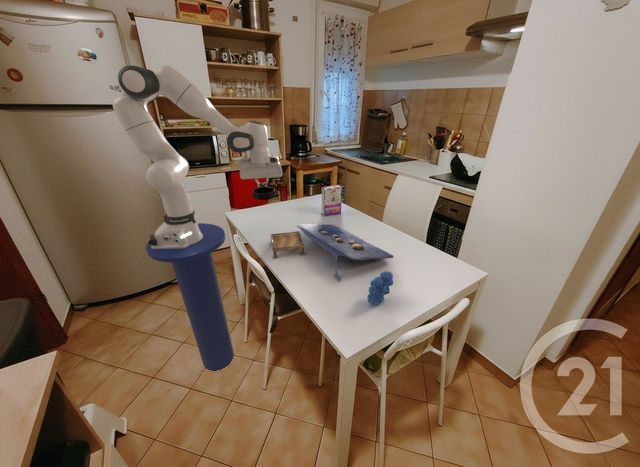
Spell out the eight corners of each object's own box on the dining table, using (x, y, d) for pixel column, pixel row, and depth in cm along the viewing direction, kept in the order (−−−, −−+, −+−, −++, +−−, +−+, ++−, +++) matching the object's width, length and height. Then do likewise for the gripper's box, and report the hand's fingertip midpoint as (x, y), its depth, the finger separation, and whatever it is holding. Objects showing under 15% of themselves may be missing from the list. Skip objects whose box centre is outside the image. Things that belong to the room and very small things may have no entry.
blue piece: (288, 242, 131) (291, 220, 128) (330, 241, 148) (334, 222, 145) (346, 285, 98) (353, 257, 95) (392, 277, 114) (399, 253, 111)
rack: (273, 258, 114) (272, 248, 112) (270, 243, 126) (270, 234, 124) (305, 254, 117) (304, 245, 115) (299, 239, 129) (299, 230, 127)
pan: (253, 201, 117) (252, 194, 116) (252, 188, 133) (251, 182, 132) (276, 199, 120) (275, 192, 118) (272, 186, 136) (271, 181, 134)
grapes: (380, 288, 97) (383, 261, 91) (394, 298, 92) (400, 270, 87) (358, 301, 91) (360, 273, 85) (372, 313, 86) (376, 284, 80)
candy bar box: (337, 210, 163) (338, 184, 155) (341, 213, 159) (342, 187, 151) (321, 212, 159) (321, 186, 151) (324, 216, 155) (324, 189, 147)
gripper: (237, 160, 119) (241, 189, 126) (282, 158, 124) (283, 187, 130) (237, 157, 124) (241, 185, 131) (280, 156, 129) (282, 183, 136)
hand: (262, 186), depth 131 cm, fingers closed on pan, 2 cm apart
